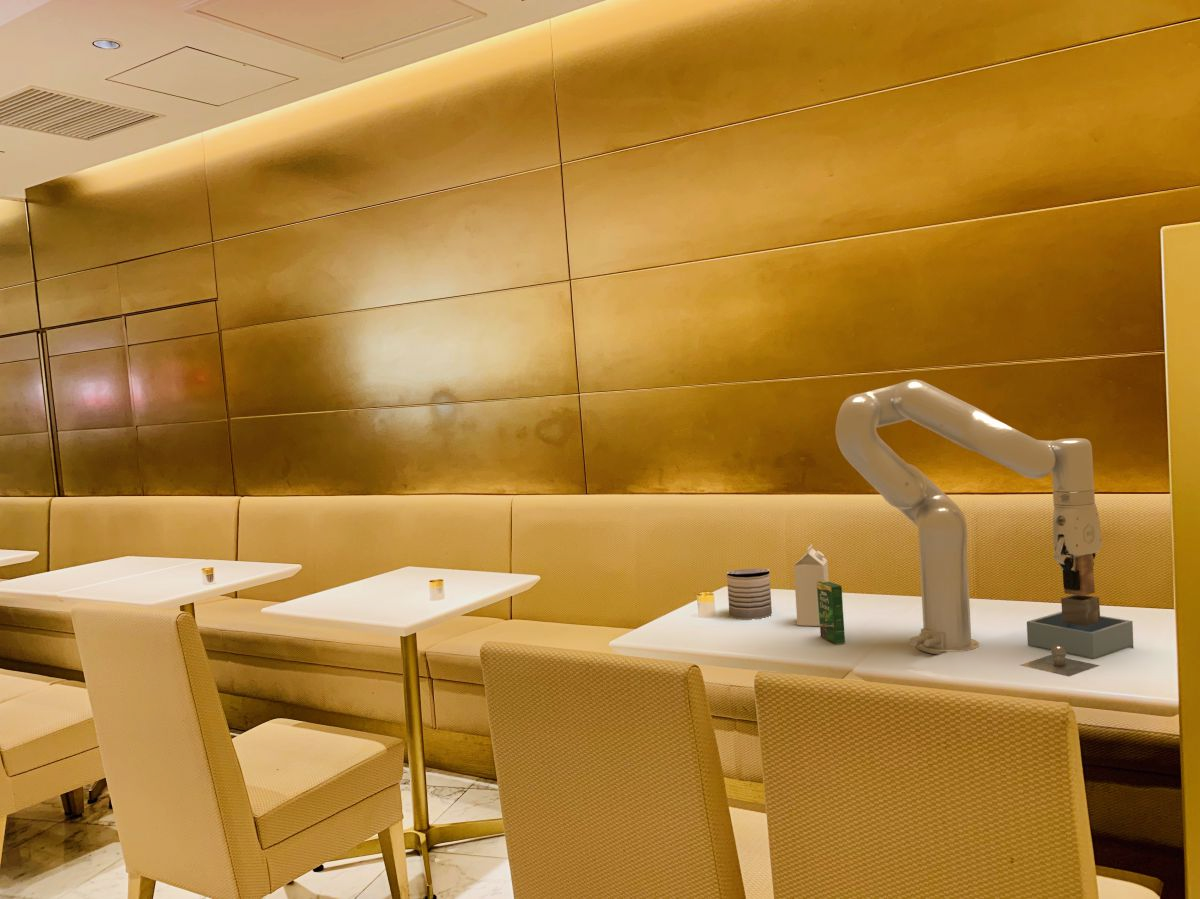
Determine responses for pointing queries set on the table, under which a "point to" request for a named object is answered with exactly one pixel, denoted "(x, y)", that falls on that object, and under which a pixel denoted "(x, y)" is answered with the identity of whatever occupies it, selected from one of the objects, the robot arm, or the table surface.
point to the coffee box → (831, 611)
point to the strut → (1082, 596)
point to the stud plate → (1060, 670)
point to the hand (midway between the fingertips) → (1078, 586)
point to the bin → (1081, 635)
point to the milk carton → (809, 586)
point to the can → (749, 594)
